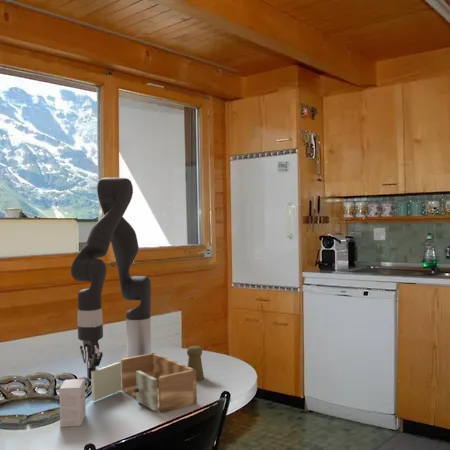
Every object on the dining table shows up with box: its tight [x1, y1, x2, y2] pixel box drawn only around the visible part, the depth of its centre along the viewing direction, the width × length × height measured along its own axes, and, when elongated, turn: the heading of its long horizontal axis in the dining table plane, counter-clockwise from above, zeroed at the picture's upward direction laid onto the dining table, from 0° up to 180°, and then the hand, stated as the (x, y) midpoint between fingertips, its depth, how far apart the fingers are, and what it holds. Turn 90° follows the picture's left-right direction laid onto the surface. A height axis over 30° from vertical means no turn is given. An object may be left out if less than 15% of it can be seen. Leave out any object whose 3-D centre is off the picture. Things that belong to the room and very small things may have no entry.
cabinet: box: [120, 352, 198, 414], centre depth 164 cm, size 26×15×10 cm, turn 36°
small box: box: [58, 378, 87, 428], centre depth 146 cm, size 8×6×10 cm
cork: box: [186, 345, 205, 382], centre depth 183 cm, size 6×6×11 cm
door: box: [89, 361, 123, 402], centre depth 166 cm, size 12×2×9 cm, turn 148°
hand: (91, 378), depth 164 cm, fingers closed
